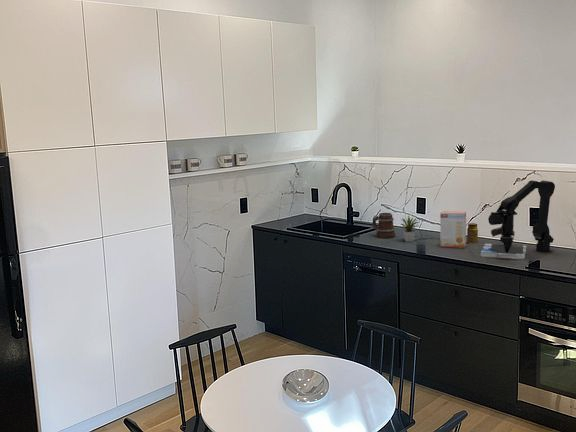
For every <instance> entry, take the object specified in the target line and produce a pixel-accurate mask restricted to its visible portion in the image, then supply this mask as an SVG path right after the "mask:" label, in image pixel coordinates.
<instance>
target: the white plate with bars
mask: <svg viewBox="0 0 576 432" xmlns="http://www.w3.org/2000/svg"><path fill="white" fill-rule="evenodd" d="M492 244H493V243H484V246H483V247H482V250H481V251H480V257H483V258H500V259H517V260H525V257H526V252H527V245H523V254H506V253H497V251H491V245H492Z"/></svg>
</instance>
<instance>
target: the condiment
mask: <svg viewBox="0 0 576 432" xmlns="http://www.w3.org/2000/svg"><path fill="white" fill-rule="evenodd" d="M478 236H479V229H478V224H477V223H474V222H471V223H468V224H467V228H466V246H468V245H469V243H470V244H477V243H478V240H479V239H478Z"/></svg>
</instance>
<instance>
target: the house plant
mask: <svg viewBox="0 0 576 432" xmlns="http://www.w3.org/2000/svg"><path fill="white" fill-rule="evenodd" d="M414 217H415V215H413V216H412V217H410V215H409V214H408V215H407V218H406V217H405V218H402V219H401V221H402V223H400V226H401V225H402V227H401V228H404V230H403V237H404V241H405V242H408V243H409V242H414V239H415V232H416V230H414V229H415V228H416V227H420V224H419V223H420V221H419V220H420V219H419V217H415V218H414Z"/></svg>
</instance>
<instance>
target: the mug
mask: <svg viewBox="0 0 576 432" xmlns="http://www.w3.org/2000/svg"><path fill="white" fill-rule="evenodd" d="M377 221H378V223H377V224H378V225H377V224H376V222H377ZM394 221H395V219H394V218H393V213H392V212H381V213H379V214H378V215H375V216H373V218H372V224H371V226H372V228H373V229H374V230H376V238H379V239H392V238H396V233H395V230H396V229H395V227H394Z"/></svg>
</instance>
